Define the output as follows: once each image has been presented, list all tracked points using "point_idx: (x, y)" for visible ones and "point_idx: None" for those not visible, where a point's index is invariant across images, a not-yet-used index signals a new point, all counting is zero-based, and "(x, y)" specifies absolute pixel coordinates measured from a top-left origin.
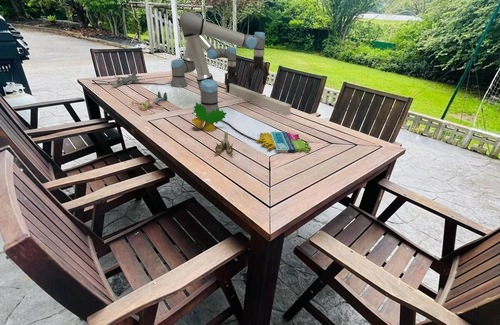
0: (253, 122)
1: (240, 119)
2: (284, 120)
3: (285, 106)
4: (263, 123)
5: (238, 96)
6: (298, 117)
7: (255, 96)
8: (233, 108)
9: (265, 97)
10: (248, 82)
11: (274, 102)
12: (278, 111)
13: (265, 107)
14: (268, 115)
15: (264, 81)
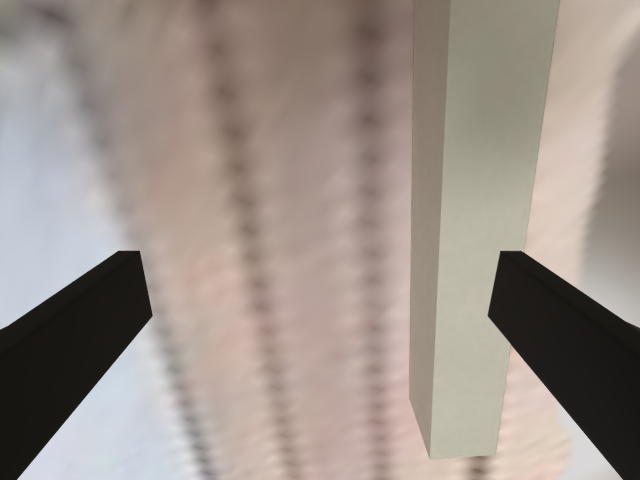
0: (137, 414)
1: None
2: (341, 452)
3: (428, 455)
4: (190, 443)
5: None
6: None
7: (440, 28)
8: (105, 106)
9: (474, 193)
10: (66, 291)
11: (432, 350)
12: (412, 356)
13: (412, 213)
14: (306, 360)
15: (532, 348)
